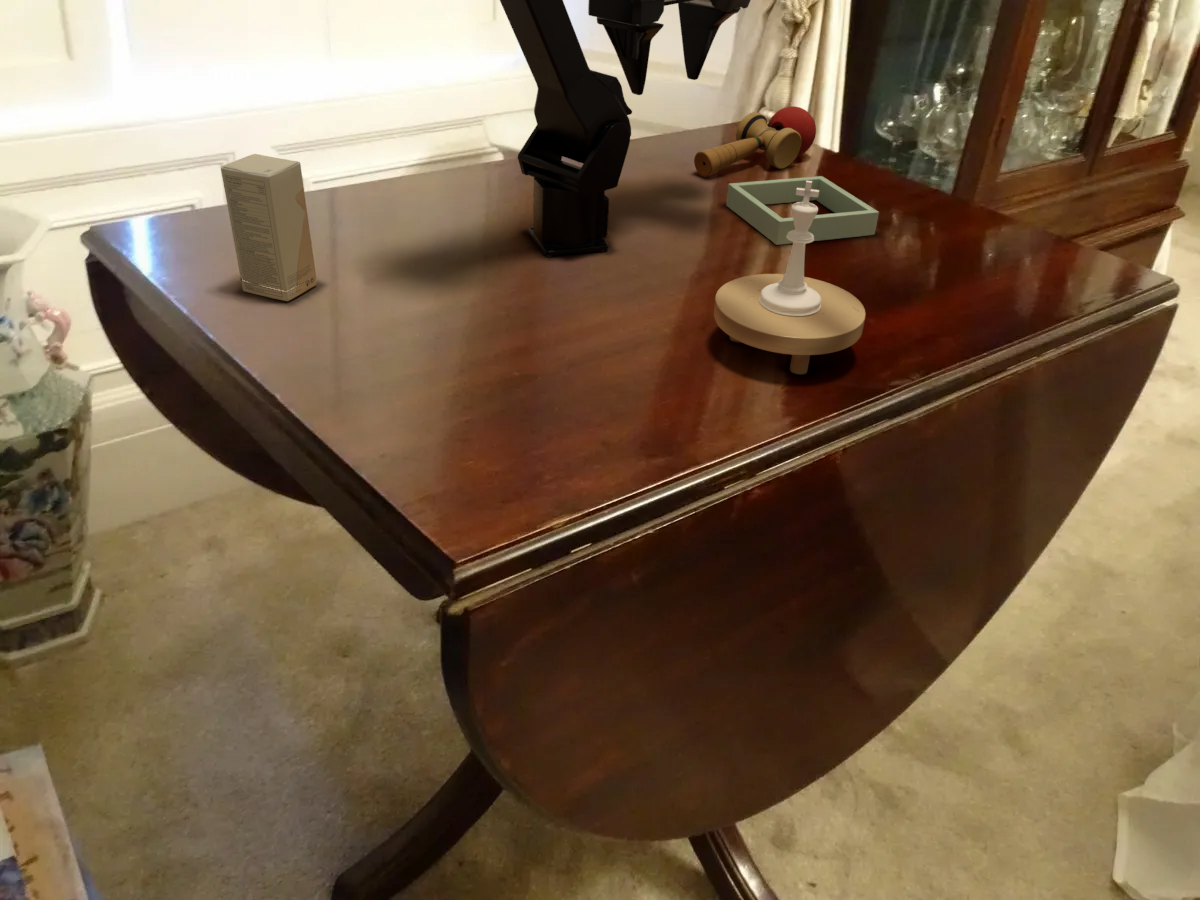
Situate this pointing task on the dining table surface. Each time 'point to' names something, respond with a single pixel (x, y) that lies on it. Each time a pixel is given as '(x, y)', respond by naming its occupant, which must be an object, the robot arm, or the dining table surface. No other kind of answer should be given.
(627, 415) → the dining table surface
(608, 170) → the robot arm
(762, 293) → the chess piece
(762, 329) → the stool
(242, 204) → the box
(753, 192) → the square frame
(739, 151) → the kendama
